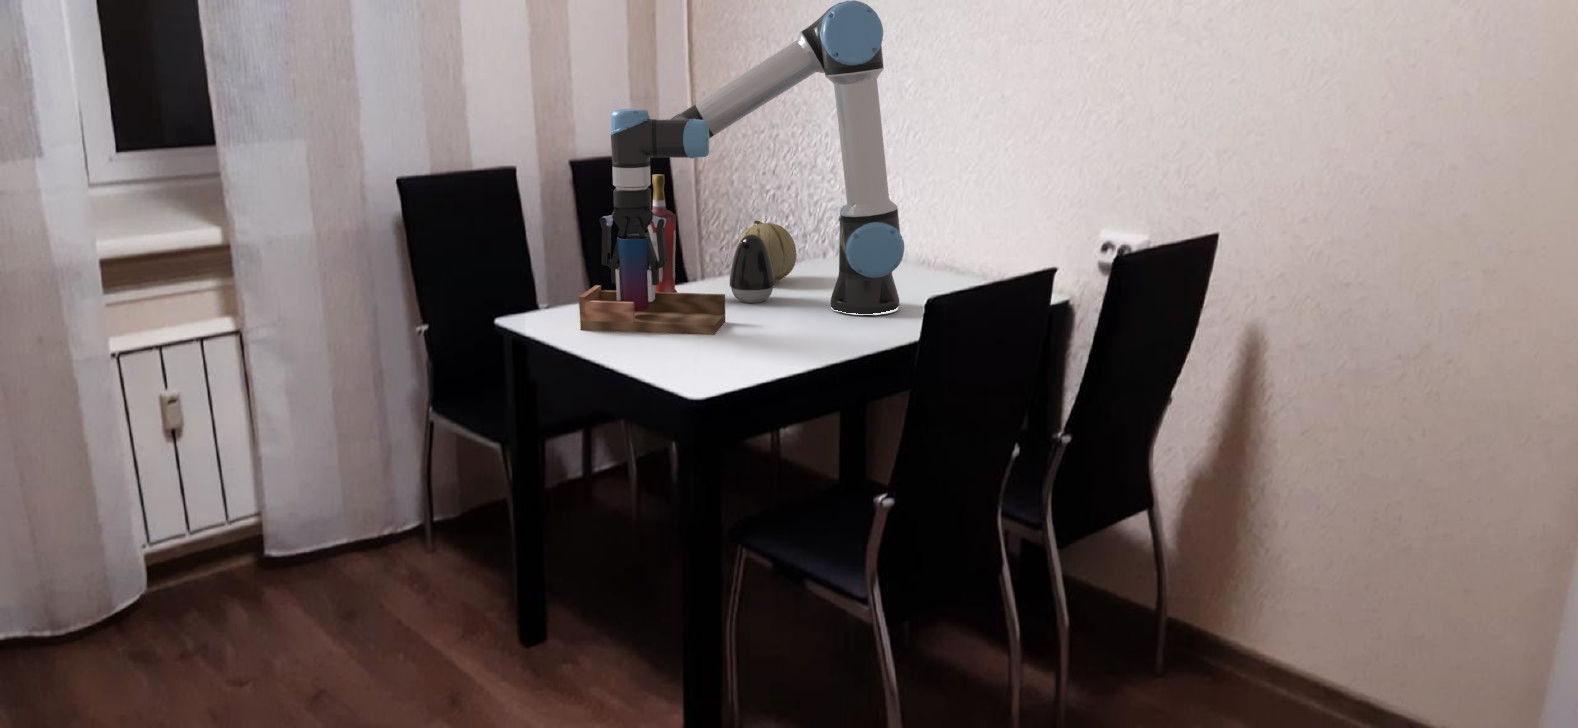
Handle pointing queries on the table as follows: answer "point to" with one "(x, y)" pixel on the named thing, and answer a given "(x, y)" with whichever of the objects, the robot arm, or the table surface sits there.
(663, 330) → the board
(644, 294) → the cup
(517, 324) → the table surface
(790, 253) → the cantaloupe
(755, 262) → the black egg-shaped device
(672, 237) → the liquor
